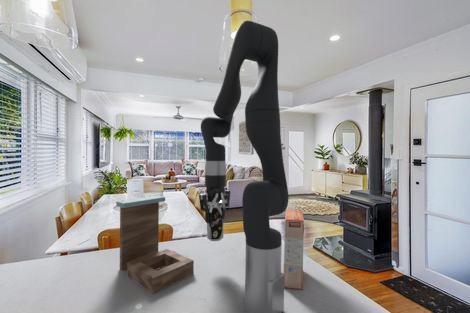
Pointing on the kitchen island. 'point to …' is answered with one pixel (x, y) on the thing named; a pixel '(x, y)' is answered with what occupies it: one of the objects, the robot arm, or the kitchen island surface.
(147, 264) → the socket block
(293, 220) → the cracker box
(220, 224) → the beverage can
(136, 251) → the grey-capped wooden panel
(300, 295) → the kitchen island surface
